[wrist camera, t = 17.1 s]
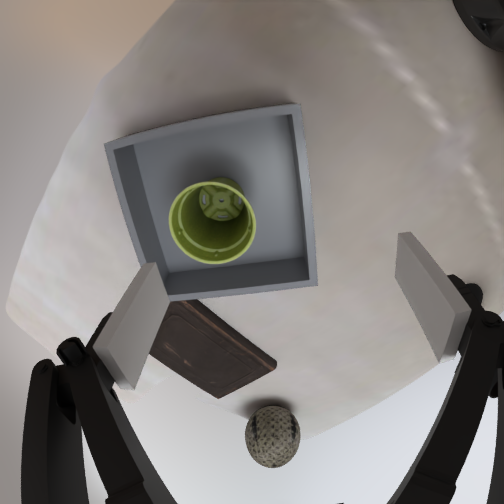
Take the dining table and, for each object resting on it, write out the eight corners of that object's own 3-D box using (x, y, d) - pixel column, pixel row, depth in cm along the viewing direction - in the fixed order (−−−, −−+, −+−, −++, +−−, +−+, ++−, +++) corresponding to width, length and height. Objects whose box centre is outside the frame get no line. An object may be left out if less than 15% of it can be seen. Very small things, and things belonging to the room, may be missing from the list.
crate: (127, 135, 37) (103, 143, 31) (293, 103, 35) (300, 103, 29) (167, 275, 47) (154, 302, 41) (310, 258, 45) (317, 285, 39)
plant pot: (190, 233, 42) (175, 264, 35) (182, 166, 38) (162, 184, 30) (258, 231, 42) (257, 263, 34) (256, 162, 38) (254, 180, 30)
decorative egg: (235, 408, 64) (231, 465, 50) (275, 388, 59) (276, 451, 46) (270, 426, 67) (270, 479, 54) (308, 408, 63) (314, 465, 50)
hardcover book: (219, 390, 61) (218, 399, 59) (131, 329, 54) (127, 338, 52) (277, 359, 56) (277, 368, 54) (182, 284, 48) (179, 292, 46)
